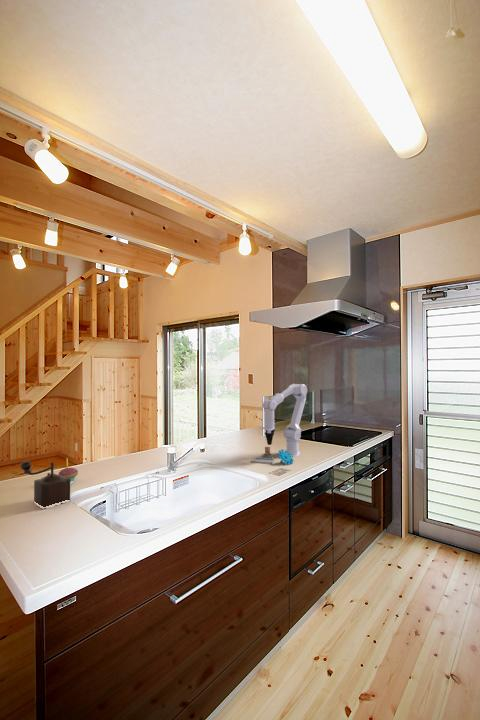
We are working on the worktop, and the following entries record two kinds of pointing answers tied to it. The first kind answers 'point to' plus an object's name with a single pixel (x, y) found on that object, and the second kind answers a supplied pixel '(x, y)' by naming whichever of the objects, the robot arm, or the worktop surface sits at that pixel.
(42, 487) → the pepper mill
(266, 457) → the charcoal cup
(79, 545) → the worktop surface
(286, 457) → the gear
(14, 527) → the worktop surface
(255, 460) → the grey tray
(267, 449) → the oak pin
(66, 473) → the cupcake
